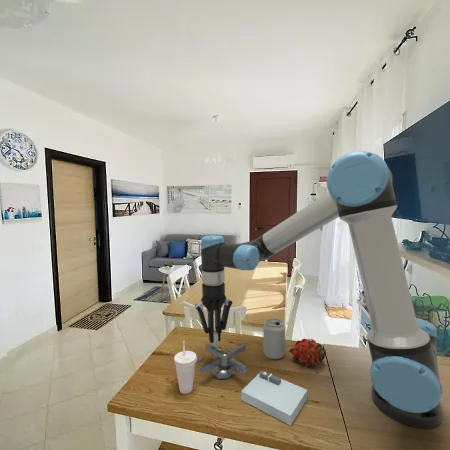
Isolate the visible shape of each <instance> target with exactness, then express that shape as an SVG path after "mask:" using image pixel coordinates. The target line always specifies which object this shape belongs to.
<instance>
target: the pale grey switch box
mask: <svg viewBox="0 0 450 450" xmlns="http://www.w3.org/2000/svg"><path fill="white" fill-rule="evenodd" d="M240 394H241V401H243V402H245V403H246V404H248V405H250V406H252V407H254V408H256V409H258V410H259V411H262V412H264V413H265V414H267V415H270V416H272V417H273V418H274V419H277V420H279V421H281V422H283V423H284V424H287V425H289V426H290V427H291V426H292V424H293V422H294V421H295V419H296V418H297V416H298V415H299V413H300V411H301V410H302V408H303V406H304V404H305V403H306V402H307V401H308V389H306V388H304V387H301V386H299V385H296V384H294V383H291V382H290V381H287V380H285V379H282V378H281V377H278V376H276V375H274V374H273V373H269V372H267V371H265V370H261V371H259V373H257V375H256V376H255V377H254V378H253V379H252V380H251V381H250V382H249V383H248V384H247V385H245V387H244V388H243V389H242V390H241V393H240Z"/></svg>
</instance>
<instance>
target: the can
mask: <svg viewBox="0 0 450 450" xmlns="http://www.w3.org/2000/svg"><path fill="white" fill-rule="evenodd" d="M264 321H265V322H264V323H263V327H262V329H263V332H262V333H263V337H262V338H263V339H262V340H263V341H262V342H263V345H262V346H263V353H264V355H265V357H267V358H268V359H271V360H280V359H282V358H283V357H284V356H285V355H286V325H285V324H284V321H283V320H282V319H280V318H277V317H272V318H271V317H270V318H267V319H266V320H264Z"/></svg>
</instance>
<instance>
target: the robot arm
mask: <svg viewBox="0 0 450 450" xmlns="http://www.w3.org/2000/svg"><path fill="white" fill-rule="evenodd" d="M393 183H394V176H393V173H392V170H391V168H390V167H389V166H388V164H387V163H386V161H385V160H384V159H383V158H382V157H381V156H380V155H378V154H376V153H374V152H371V151H366V150H357V151H356V150H355V151H354V150H353V151H351V152H348V153H345V154H343V155H341V156H340V157H339V158H338V159H337V160H335V161H334V162H333V164H332V165H331V167H330V168H329V170H328V172H327V176H326V187H327V191H328V192H326V193H324V194H323V195H322V196H320V197H319V198H317V199H316V200H314V201H312V202H311V203H310V204H308V205H306V206H305V207H303V208H302V209H301V210H298V211H297V212H295V213H293V215H291V216H289V217H288V218H286V219H285V220H283V221H282V222H280V223H278V224H277V225H276V226H274V227H272V228H271V229H269V230H267V231H266V232H265V233H263V234H262V235H260V236H259V237H257V238H256V239H253V240H250V241H246V242H241V243H226V242H225V239H224V236H222V235H217V234H216V235H215V234H214V235H205V236H203V237H202V238H201V240H200V256H201V282H202V283H201V289H202V290H201V291H202V292H201V293H202V297H201V299H200V302H199V303H198V304H197V303H196V304H195V305H194V309H195V310H196V311H197V313H198V317H199V320H200V323H201V326H202V330H203V331H204V334H206V335H207V334H208V341H209V342H210V343H209V344H211V345H212V346H214V347H215V348H217V349H218V347H219V342H221V340H222V339H221V334H222V332H223V331H224V330H226V328H227V325H228V319H229V314H230V309H231V307H232V305H233V301H232V300H231V299H229V298H227V297H226V283H225V268H230V269H233V270H234V269H236V270H240V271H254V270H255V269H256V268H257V266H258V265H259V262H264V261H267V260H269V259H271V258H272V256H274V255H275V254H276V253H279V252H280V251H282V250H284V249H285V248H288V247H290V246H291V245H292V244H294V243H297V241H300V240H301V239H303V238H305V237H306V236H308V235H310V234H311V233H314V232H316V231H317V230H319V229H320V228H322V227H324V226H326V225H328V224H329V223H331V222H333V221H334V220H336V219H338V218H339V219H340V220H341V221H343V222H345V223H346V224H347V226H348V230H349V233H350V237H351V242H352V246H353V250H354V255H355V259H356V263H357V268H358V271H359V276H360V280H361V285H362V289H363V293H364V298H365V302H366V307H367V311H368V315H369V319H370V323H371V328H370V330H369V331H368V332H367V334H366V338H367V343H368V347H369V348H368V349H369V353H370V357H371V363H372V364H371V366H370V369H369V370H370V372H369V374H370V379H371V383H372V385H371V400H372V401H373V403H374V404H375V405H376V407H377V408H378V409H379V410H380V411H381V412H383V414H385V415H387V416H388V417H389V418H392V419H393V420H395V421H397V422H399V423H402V424H403V425H407V426H410V427H413V428H418V429H432V428H436V427H438V426H440V425H441V423H442V420H443V407H442V405H441V402H440V401H441V397H442V396H441V395H442V394H443V386H442V383H441V382H440V381H441V379H440V378H441V377H440V371H439V365H438V356H437V339H438V337H439V335H438V332H437V331H438V329H437V327H436V326H435V325H434V324H433V323H431V322H429V321H427V320H424V319H422V318H419V317H416V314H415V313H416V312H415V307H414V305H413V304H414V303H413V301H412V296H411V292H410V288H409V283H408V280H407V276H406V271H405V267H404V263H403V259H402V255H401V250H400V247H399V243H398V239H397V234H396V230H395V227H394V223H393V222H394V221H393V218H392V215H394V212H395V211H396V210H397V208H398V203H397V199H396V195H395V191H394V186H393ZM204 307H205V308H206V310H207V312H206V313H207V319H206V317H205V313H204V311H203V310H204ZM222 307H223V309H222ZM221 313H222V314H221Z"/></svg>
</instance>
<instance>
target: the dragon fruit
mask: <svg viewBox="0 0 450 450" xmlns="http://www.w3.org/2000/svg"><path fill="white" fill-rule="evenodd" d="M290 353H291V355H292V359H293V360H295V361H296V362H299V363H305V366H306V367H310V366H312V365H313V366H316V365H317V364H318V363H319V364H322V363H324V362H323V361H324V360H325V357H326V354H327V352H326V349H325V348H324V346H322V345H321V344H320V343H319V342H317V341H316V340H314V339H313V338H308V339H307V338H302V339H301V340H297V341H296V343H295V344H294V345H293V346H292V347H291V348H290V349H289V350H288V354H290Z"/></svg>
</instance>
